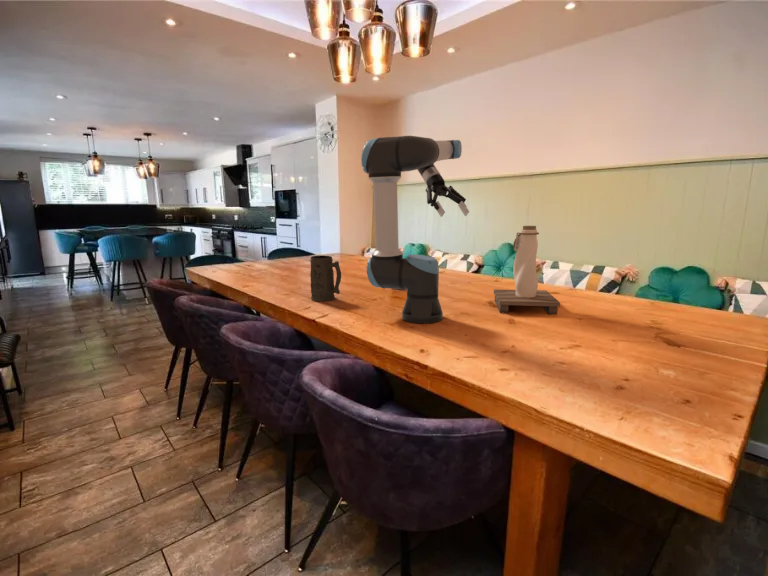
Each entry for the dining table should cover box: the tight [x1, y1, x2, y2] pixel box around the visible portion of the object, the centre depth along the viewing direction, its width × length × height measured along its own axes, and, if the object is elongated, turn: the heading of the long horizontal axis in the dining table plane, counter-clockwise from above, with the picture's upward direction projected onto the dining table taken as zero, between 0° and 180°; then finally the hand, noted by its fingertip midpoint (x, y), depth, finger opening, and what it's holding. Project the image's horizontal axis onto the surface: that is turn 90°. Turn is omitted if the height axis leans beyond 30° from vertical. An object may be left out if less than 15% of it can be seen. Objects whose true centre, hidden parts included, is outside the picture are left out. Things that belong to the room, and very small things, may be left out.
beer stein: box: [309, 255, 342, 302], centre depth 175 cm, size 15×11×20 cm
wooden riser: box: [493, 288, 561, 316], centre depth 159 cm, size 22×22×5 cm
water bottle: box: [512, 225, 540, 297], centre depth 155 cm, size 10×9×28 cm
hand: (455, 214), depth 165 cm, fingers open, 13 cm apart
